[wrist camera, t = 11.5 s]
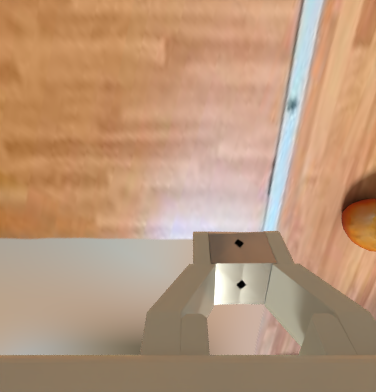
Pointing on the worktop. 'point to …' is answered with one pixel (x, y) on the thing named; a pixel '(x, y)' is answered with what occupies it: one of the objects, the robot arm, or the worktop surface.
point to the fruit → (361, 223)
